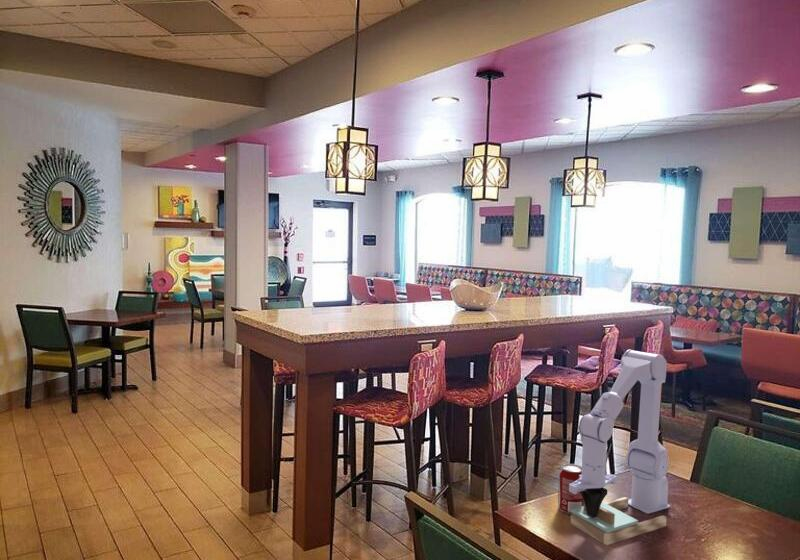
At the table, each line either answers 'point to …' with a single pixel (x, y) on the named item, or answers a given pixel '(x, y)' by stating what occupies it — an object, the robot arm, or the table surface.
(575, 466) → the soda can
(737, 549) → the table surface
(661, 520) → the wooden frame
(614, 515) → the lid
